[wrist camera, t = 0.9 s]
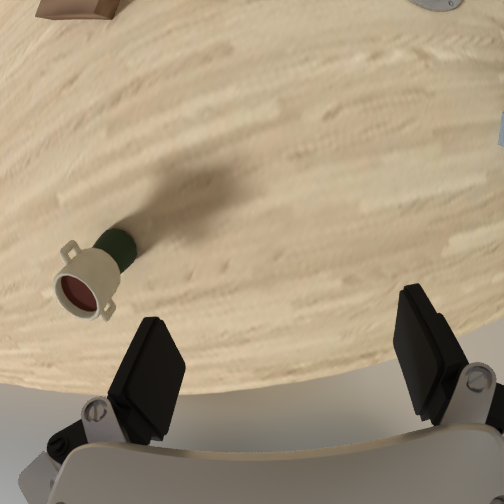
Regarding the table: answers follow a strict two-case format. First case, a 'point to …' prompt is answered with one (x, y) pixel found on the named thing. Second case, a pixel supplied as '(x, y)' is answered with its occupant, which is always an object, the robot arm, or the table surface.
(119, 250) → the character mug
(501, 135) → the slate cube
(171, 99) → the table surface
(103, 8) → the walnut block
